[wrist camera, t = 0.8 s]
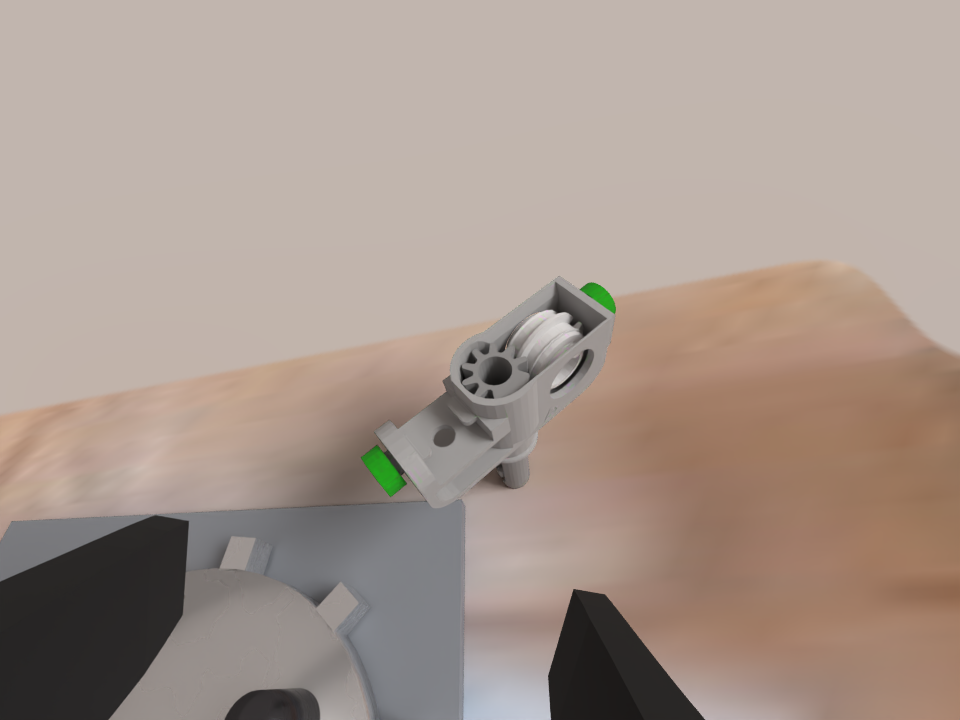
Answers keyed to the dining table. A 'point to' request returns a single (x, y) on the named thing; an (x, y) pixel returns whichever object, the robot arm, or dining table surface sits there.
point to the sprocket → (256, 650)
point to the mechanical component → (500, 395)
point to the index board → (332, 581)
